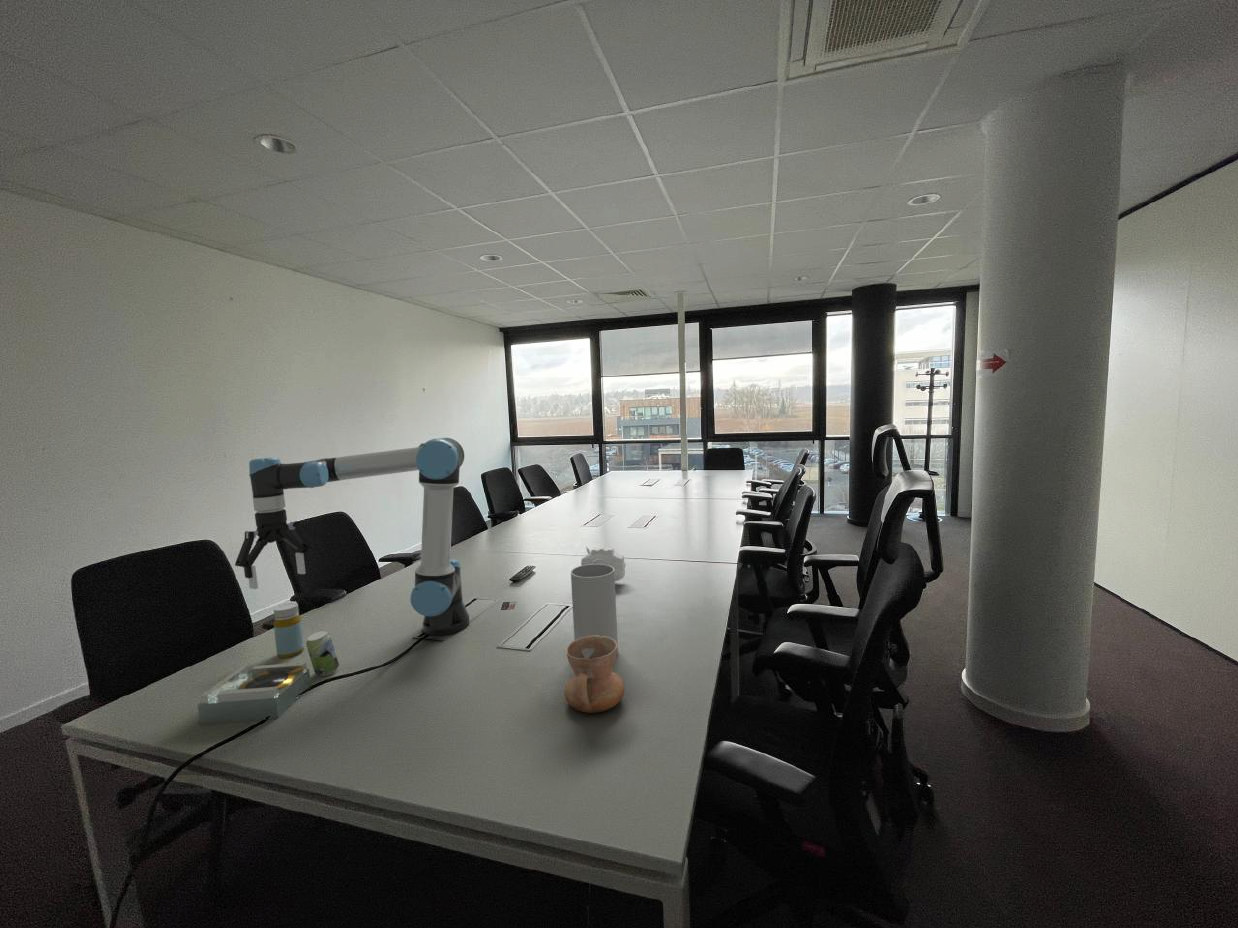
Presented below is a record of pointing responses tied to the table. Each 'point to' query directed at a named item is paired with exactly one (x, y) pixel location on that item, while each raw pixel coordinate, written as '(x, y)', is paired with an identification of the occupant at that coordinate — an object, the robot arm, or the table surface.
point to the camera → (606, 560)
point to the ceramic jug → (593, 675)
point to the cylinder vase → (594, 602)
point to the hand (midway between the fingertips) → (278, 580)
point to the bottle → (288, 630)
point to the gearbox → (254, 693)
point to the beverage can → (322, 653)
